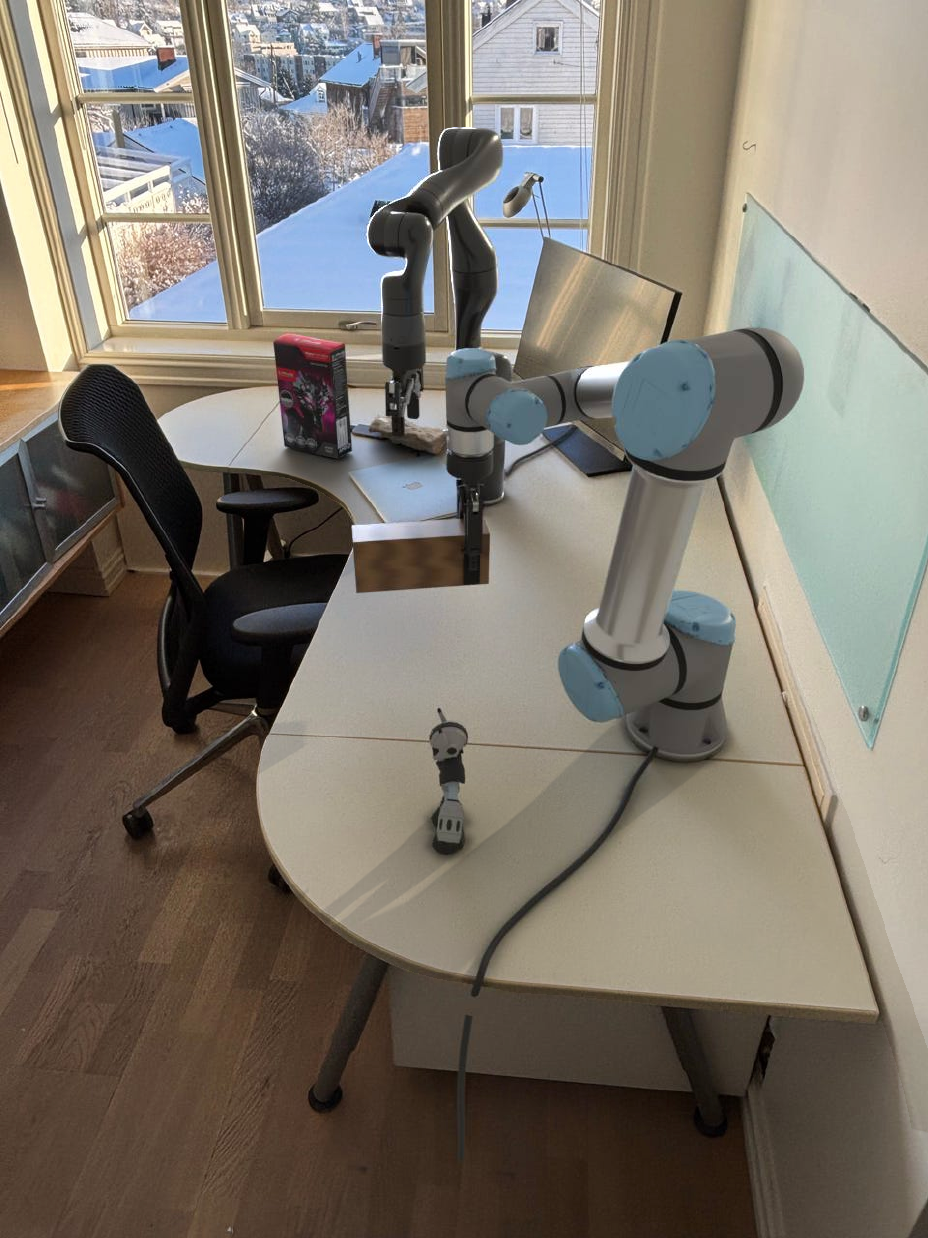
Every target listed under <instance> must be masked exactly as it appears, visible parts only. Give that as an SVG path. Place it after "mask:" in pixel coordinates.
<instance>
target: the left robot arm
mask: <svg viewBox="0 0 928 1238" xmlns="http://www.w3.org/2000/svg"><path fill="white" fill-rule="evenodd" d="M437 145H438V146H437V162H438V171H437V172H435V173H432V174H430V175H429V176H427V177H425V178H423V179H422V180H421V181H420V182H419V183H417V185H416V186H414V187H413V189H411V190H410V191H409V193H408V194H407V195H406V196H403V197H402V198H398V199H396V200H394V201H391V202H390V203H387V204H386V205H384V206H382V207H381V208H379V209H378V210H377V211H376V212H375V213H374V214H373V216H372V217H371V218H370V221H369V222H368V223H369V224H368V225H367V231H366V236H367V244H368V245H369V248H370V249H371V250H372V252H374V253H375V254H376V255H377V256H379V257H384V258H390V259H391V258H392V259H401V260H405V267H404V269H403V270H397V271H392V272H388V273H386V274H385V275H383V276H382V278H381V281H380V292H381V293H380V294H381V320H380V333H381V334H380V335H381V355H382V356H381V360H382V364H383V366H384V367H385V368H387V369H390V370H391V372H392V374H391V377H390V381H385V383H384V399H385V401H384V402H385V403H384V404H385V415H386V416H391V420H392V435H393V436H398V437H403V436H404V435H405V419H406V418H405V414H406V417H407V418H408V419H410V420H418V419H419V418H420V413H421V411H420V399H421V397H422V393H421V392H424V390H425V383H424V382H425V381H424V366H425V365H426V361H427V357H426V356H427V353H426V351H427V349H426V346H427V345H426V343H427V342H426V319H425V312H424V309H425V308H424V285H425V284H424V283H425V279H426V271H427V268H428V263H429V260H430V256H431V252H432V248H433V244H434V232H435V231H436V230H437V229H438V228H439V227H440V226H441V224H442V223H443V222H444V221H445V220H446V223H447V232H448V234H447V235H448V244H449V264H450V276H451V286H452V294H453V295H452V296H453V304H454V305H453V306H454V322H455V323H454V324H455V349H454V351H456V350H460V349H466V348H477V349H483V345H482V325H483V321H484V319H485V317H486V315H487V313H488V312H489V310H490V309H491V307H492V305H493V302H494V300H495V298H496V296H497V293H498V290H499V270H498V269H499V267H498V255H497V251H496V248H495V246H494V244H493V242H492V241H491V238H489V237H490V236H489V235H488V234H487V233H486V230H485V229H484V228H483V226H482V225H481V223H480V221H478V218H477V217H476V215H475V213H474V211H473V208H472V206H471V203H470V200H469V199H470V198H471V197H473V196H474V195H476V194H478V193H479V192H481V191H482V190H483V189H486V188H487V187H488V186H490V185H492V184H493V183H494V182H495V181H496V180H497V178H498V177H499V175H500V173H501V171H502V167H503V162H504V147H503V142H502V138H501V137H500V135H499V134H498V133H497V132H496V131H495V130H493V129H490V128H483V127H480V128H479V127H448V128H446V129H444V130H443V131H442V133H441V134H440V136H439V141H438V144H437ZM488 351H489V352H491V353H492V354H493V355H494V357H495V364H496V372H495V374H496V375H498V376H499V377H501V378H503V379H505V380H507V381H509V382H513V381H512V379H513V368H512V363H511V359H510V358H509V357H508V356H507V355H505V354H502V353H499V352H495V351H490V350H488ZM395 407H396V408H395ZM574 427H575V426H574V425H573V423H572V424H571V425H570V426H569V427H568V428H567V429H566V430H565V431H563V433H562V434H561V435H559V436H558V437H556V438H555V439H553V440H552V441H550V442H548V443H546V444H545V445H543V446H541V447H540V448H538V449H536V450H534V451H531V452H529V453H527V454H524V455H522V456H521V457H518V458H517V459H516V460H515V461H514V462H513V463H512V464H511V465H510V466H509V468H508V469H506V468H505V460H506V459H505V458H506V440H502V439H501V438H498V437H497V436H495V435H494V447H493V448H492V450H493V470H492V472H491V474H490V475H488V476H487V477H484V478H482V479H481V485H483V495H482V499H483V502H484V505H483V506H487V505H488V506H489V505H494V504H497V503H500V502H501V501H502V500H504V498H505V497H504V496H505V491H504V485H505V484H504V483H505V481H506V476H508V475H509V474H510V473H511V472H512V471H513V469H514V468H515V466H516V465H518V464H519V463H520V462H522V461H524V460H526V459H528V458H530V457H533V456H535V455H537V454H538V453H540V452H542V451H544V450H545V449H546V450H547V449H548V448H549V447H551V446H552V445H554V444H556V443H557V442H559V441H560V440H561V439H563V438H564V437H565V436H566V435H568V433H570V432H571V431H572V430H573V428H574Z"/></svg>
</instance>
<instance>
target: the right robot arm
mask: <svg viewBox="0 0 928 1238" xmlns="http://www.w3.org/2000/svg"><path fill="white" fill-rule="evenodd" d="M489 351H490V350H486V349H483V348H482V349H477V348H466V349H460V350H456V351H455V350H453V351H451V353H449V354H448V356H447V358H446V364H445V365H446V366H445V367H446V369H445V377H444V381H445V419H446V429H442V430H443V435H444V436H447V442H446V448H447V450H445V451H446V452H445V455H446V456H445V457H446V461H445V462H446V464H445V465H446V466H445V467H446V468H445V469H446V471H447V473H448V475H450V476H451V477H453V478H455V486H456V487H455V488H456V516H455V519H464V532H465V549H461V554H464V566H463V583H464V585H466V586H474V585H473V584H480V554H483V549H482V543H483V517H484V506H485V505H484V502H483V499H482V495H483V485H481V479H482V478H484V477H487V476H488V475H490V474H491V472H492V470H493V450H492V448H493V447H494V435H495V436H497V437H498V438H501V439H502V440H505V442H508V443H511V444H512V445H516V446H525V445H528V444H531V443H532V442H534V440H535V439H537V438H538V437H540V436H541V435H542V433H543V432H544V430H545V429H547V428H551V427H554V426H559V425H563V424H568V423H572V422H573V423H574V421H578V422H579V421H586V420H587V421H588V420H598V419H609V418H611V419H612V418H613V419H616V423H615V424H614V425H613V429H614V432H615V434H616V436H617V439H618V441H619V442H620V444H621V446H622V447H623V451H624V455H625V458H626V459H627V461H629V463H630V464H631V465H632V468H631V473H630V477H629V481H628V485H627V489H626V494H625V498H624V503H623V507H622V511H621V513H620V519H619V524H618V527H617V531H616V537H615V540H614V545H613V549H612V553H611V558H610V562H609V566H608V570H607V574H606V578H605V583H604V587H603V592H602V595H601V600H600V604H599V607H596V608H595V609H593V610H592V611H590V612H589V613H588V615H587V616H586V618H585V619H584V623H583V626H582V627H583V628H582V631H581V636H580V639H579V640H578V641H577V642H575V643H574V642H571V643H569V644H567V645H566V646H564V647H563V648H562V649H561V650H560V651H559V653H558V658H557V668H558V669H557V670H558V673H559V679H560V682H561V684H562V687H563V688H564V691H565V694H566V695H567V697H568V699H569V700H570V702H571V703H572V705H573V706H574V707H575V709H576V710H577V711H578V712H579V713H580V714H581V715H582V716H584V717H585V718H586V719H588V720H589V721H591V722H594V723H600V724H603V723H607V722H609V721H613V720H616V719H617V720H619V719H622V718H623V717H624V716H626V719H625V728H626V732H627V734H628V736H629V738H630V739H631V741H632V742H634V744H636V745H637V746H638V747H639V748H640V749H641V750H643V751H645V752H646V753H648V754H647V756H646V757H645V758H644V760H643V761H642V762H641V764H640V765H639V767H638V769H637V770H636V771H635V773H634V774H633V776H632V778H631V779H630V781H629V783H628V785H627V787H626V789H625V792H624V794H623V796H622V799H621V802H620V803H619V806H618V807H617V809H616V811H615V812H614V814H613V815H612V818H611V820H610V821H609V823H608V824H607V826H606V827H605V829H604V830H603V831H602V833H601V834H600V835H599V836H598V837H597V839H596V840H595V841H594V842H593V843H592V844H591V845H590V846H589V847H588V848H587V849H586V851H585V852H584V853H582V854H581V855H580V856H579V857H578V858H577V859H576V860H574V861H573V862H572V863H571V864H570V865H569V866H568V867H566V868H565V869H564V870H563V871H562V872H561V873H560V874H558V875H557V876H556V877H555V878H554V879H553V880H551V881H549V883H547V885H545V886H544V887H543V888H541V889H540V890H539V891H538V892H537V893H536V894H534V895H533V896H532V897H531V898H530V899H528V900H527V902H526V903H524V904H523V906H522V907H521V908H519V909H518V910H517V911H516V912H515V913H514V914H513V915H512V916H511V917H510V918H509V919H508V920H507V921H506V922H505V923H504V924H503V926H502V927H501V928H500V929H499V930H498V931H497V933H496V934H495V935H494V937H493V939H492V940H491V942H490V943H489V944H488V946H487V948H486V950H485V952H484V954H483V956H482V958H481V961H480V963H479V966H478V969H477V973H476V976H475V979H474V982H473V985H472V988H471V991H470V995H471V997H473V998H476V997H479V994H480V991H481V988H482V985H483V982H484V979H485V976H486V973H487V969H488V967H489V964H490V961H491V958H492V957H493V955H494V952H495V951H496V949H497V947H498V946H499V944H500V943H501V941H503V939H504V937H505V936H506V935H507V934H508V933H509V932H510V931H511V929H512V928H513V927H514V926H515V925H516V924H517V923H518V922H519V921H520V920H521V919H522V918H523V917H524V916H525V915H526V914H527V913H528V912H530V911H531V910H532V908H533V907H535V906H536V905H537V904H538V903H539V902H540V901H541V900H542V899H544V898H545V897H546V896H547V895H548V894H550V893H551V892H552V891H553V890H555V889H556V888H557V887H558V886H559V885H561V884H562V883H563V882H564V881H565V880H566V879H568V878H569V877H570V876H571V875H572V874H573V873H574V872H576V871H577V870H578V869H579V868H580V867H581V866H582V865H583V864H584V863H586V862H587V861H588V860H589V859H590V858H591V857H592V856H593V855H594V854H595V852H597V850H599V848H600V847H601V846H602V845H603V843H604V842H605V841H606V840H607V838H608V837H609V836H610V834H611V833H612V831H613V830H614V828H615V827H616V826H617V824H618V822H619V821H620V819H621V817H622V816H623V813H624V812H625V810H626V808H627V805H628V804H629V802H630V799H631V797H632V794H633V791H634V790H635V787H636V785H637V783H638V781H639V779H640V778H641V776H642V775H643V773H644V772H645V770H646V769H647V768H648V766H649V765H650V764H651V762H652V761H653V759H654V758H655V757H656V758H659V759H662V760H666V761H670V762H675V763H694V762H700V761H703V760H706V759H709V758H711V757H714V755H716V754H718V752H720V751H721V750H722V748H723V747H724V744H725V743H726V740H727V739H726V738H727V733H728V721H727V716H726V712H725V708H724V707H725V706H724V701H723V692H724V686H725V682H726V678H727V674H728V669H729V664H730V659H731V654H732V651H733V647H734V643H735V642H736V641H735V640H736V637H735V634H736V627H737V626H736V625H737V622H736V617H735V615H734V613H733V612H732V610H731V609H730V608H729V607H728V606H727V605H726V604H724V603H723V602H722V601H720V600H719V599H717V598H715V597H712V596H710V595H707V594H704V593H701V592H696V591H693V590H680V589H679V590H678V589H677V590H674V589H675V588H676V583H677V580H678V577H679V574H680V570H681V566H682V563H683V559H684V556H685V553H686V550H687V547H688V544H689V540H690V536H691V534H692V530H693V528H694V523H695V520H696V517H697V513H698V510H699V508H700V507H699V506H700V503H701V500H702V498H703V497H702V496H703V493H704V490H705V487H706V483H708V482H710V481H712V480H713V481H714V479H717V478H718V477H719V476H721V475H722V473H724V470H725V468H726V464H727V461H728V458H729V456H730V453H731V449H732V445H733V444H734V441H735V440H736V439H737V438H741V437H746V436H749V435H752V434H755V433H759V432H762V431H765V430H767V429H769V428H771V427H773V426H775V425H776V424H778V423H780V422H781V421H782V420H783V419H785V418H786V417H787V416H788V415H789V414H790V412H792V410H793V409H794V408H795V407H796V404H797V403H798V401H799V399H800V397H801V394H802V392H803V388H804V384H805V383H804V382H805V367H804V363H803V359H802V357H801V355H800V352H799V350H798V349H797V348H796V345H794V343H792V341H791V340H790V338H788V337H786V336H785V335H783V334H782V333H780V332H778V331H776V330H773V329H770V328H765V327H760V326H759V327H758V326H757V327H755V326H753V327H751V326H750V327H743V328H738V329H737V328H736V329H733V330H729V331H724V332H720V333H719V332H718V333H714V334H710V335H704V336H699V337H695V338H690V339H675V340H673V339H672V340H669V341H666V342H663V343H661V344H659V345H656V346H654V347H650V348H647V349H645V350H642V351H640V352H639V353H638V354H636V355H635V356H634V357H632V358H631V359H630V360H628V361H622V362H616V363H609V364H603V365H586V366H581V367H578V368H575V369H570V370H565V371H561V372H556V373H552V374H546V375H539V376H536V377H530V378H526V379H522V380H516V381H512V382H509V381H507V380H505V379H503V378H501V377H499V376H498V375H496V374H495V372H496V364H495V357H494V355H493V354H492V353H491V352H492V351H491V352H489ZM480 585H481V584H480ZM473 1018H474V1017H473V1015H468V1014H465V1015H464V1021H463V1027H462V1033H461V1040H460V1048H459V1057H458V1067H457V1069H458V1070H457V1089H456V1090H457V1092H456V1093H457V1098H456V1099H457V1102H456V1103H457V1104H456V1105H457V1107H456V1108H457V1162H458V1163H459V1164H463V1163H465V1151H466V1116H465V1115H466V1113H465V1112H466V1111H465V1105H466V1103H465V1100H466V1099H465V1097H466V1096H465V1095H466V1094H465V1091H466V1090H465V1088H466V1068H467V1067H466V1066H467V1058H468V1051H469V1050H468V1049H469V1042H470V1035H471V1029H472V1023H473Z"/></svg>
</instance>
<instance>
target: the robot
mask: <svg viewBox="0 0 928 1238" xmlns="http://www.w3.org/2000/svg"><path fill="white" fill-rule="evenodd" d="M436 712H437V714H438V717H439V719H440V723H438V724H437V725H436V726H434V728H432V729H431V731H430V733H429V735H428V739H429V745H430V747H431V750H432V759H433V760H434V761H436V762H435V765H436V767H437V769H438V771H439V773H438V782H439V787H440V788H441V789H440V790H441V791H442V794H443V795H442V797H441V800H440V802H439V804H438V805H439V806H437V808H436V810H435V811H434V812H433V813H432V815H431V817H430V819H431V821H432V824H433V826H434V827H435V828H436V832H435V835H434V837H433V840H432V843H431V846H432V848H434V850H435V851H436V852H437V853H439V854H444V855H450V854H454V853H456V852H459V851H461V850H462V849H463V848H464V846H465V843H466V836H465V835H466V832H465V830H464V827H463V825H464V822H465V818H464V817H465V816H464V814H465V811H464V807H463V803H462V802H461V801H460V800H459V793H460V790H461V789H460V784H466V769H465V766H464V763H463V756H462V755H463V754H464V747H466V746H467V744H468V741H469V733H468V731H467V728H465V726H463V724H461V723H460V722H457V721H454V720H447V718H446V715H445V714H444V712H443V711H442V709H441V707H438V708H437V709H436Z"/></svg>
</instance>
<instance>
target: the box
mask: <svg viewBox="0 0 928 1238" xmlns="http://www.w3.org/2000/svg"><path fill="white" fill-rule="evenodd" d="M351 538H352V539H351V540H352V554H353V567H354V569H353V570H354V581H355V593H356V594H365V593H379V592H381V593H382V592H392V591H407V590H408V591H409V590H421V589H436V588H450V587H464V586H467V585H464V583H463V566H464V554H461V549H465V532H464V519H456V518H451V519H434V520H432V519H431V520H418V521H416V520H415V521H403V522H401V521H399V522H386V523H370V524H369V523H368V524H367V523H366V524H352V525H351ZM482 549H483V554H480V584H473V585H472V586H478V585H489V584H490V553H491V532H490V529H489V527H488V524H487V521H486V518H485V516H483V543H482Z"/></svg>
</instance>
